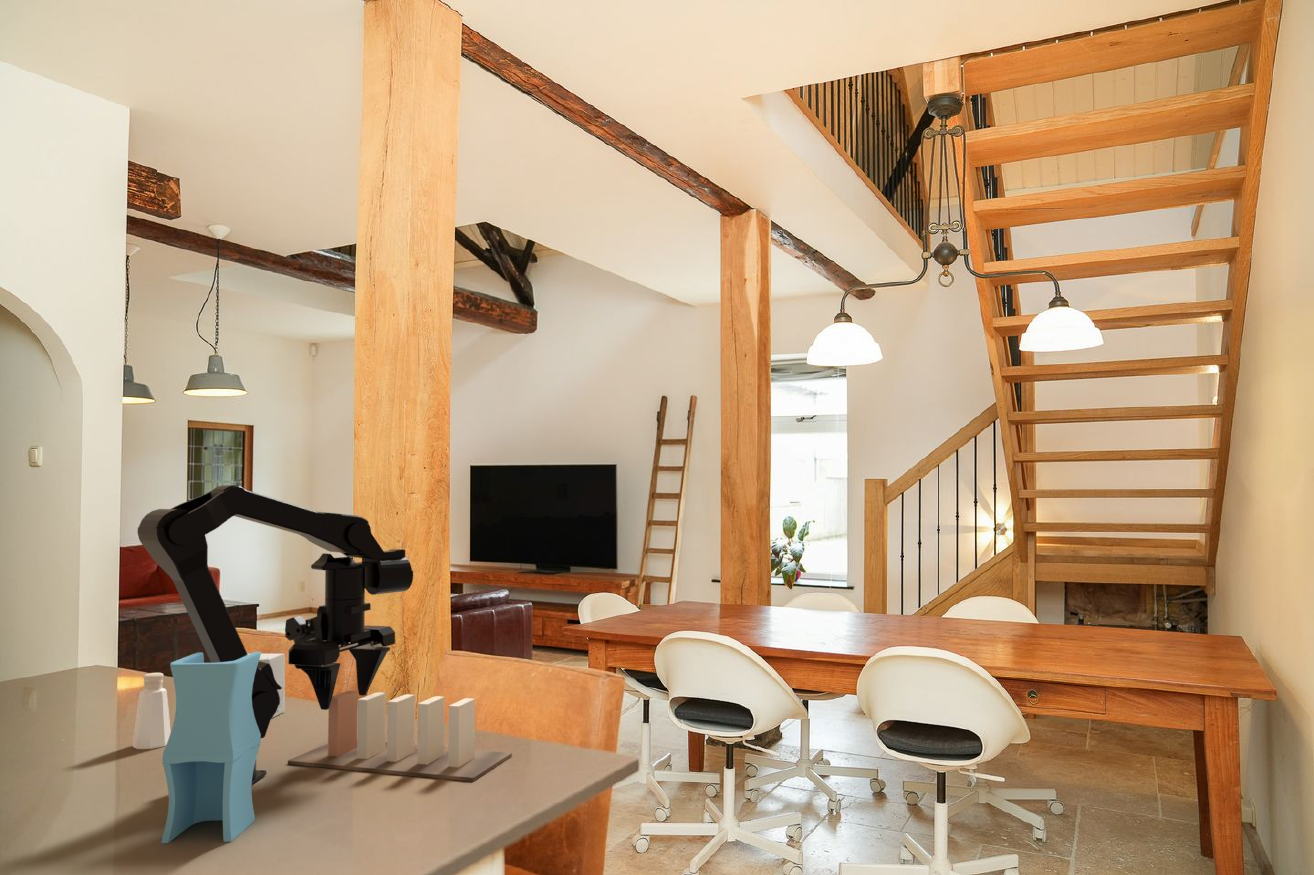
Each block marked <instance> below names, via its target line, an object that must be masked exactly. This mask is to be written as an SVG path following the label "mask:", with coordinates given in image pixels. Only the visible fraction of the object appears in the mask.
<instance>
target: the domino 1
mask: <svg viewBox="0 0 1314 875" xmlns="http://www.w3.org/2000/svg"><path fill="white" fill-rule="evenodd" d="M386 709H387V693H386V692H380V691H379V692H378V691H377V692H374V693H370V694H369V695H365V696H363V697H361V698H357V758H359V759H368V758H370V757H372V756H374V755H376V754H378V753H380V752H382V751H384V750H385V742H386V740H387V712H386V711H387V710H386Z"/></svg>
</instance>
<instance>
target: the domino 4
mask: <svg viewBox="0 0 1314 875" xmlns="http://www.w3.org/2000/svg"><path fill="white" fill-rule="evenodd" d="M448 748H449V767H460V766H462V765H464V764H465V763H467V762H469V761H470V760H472V759H473V758H475V750H476V698H470V697H466V698H465V697H464V698H463V699H460V700H458V701H455V702H454V703H451V704H449V705H448Z"/></svg>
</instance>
